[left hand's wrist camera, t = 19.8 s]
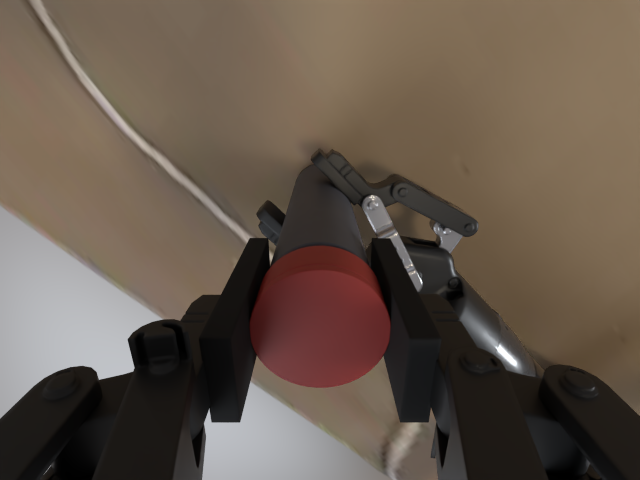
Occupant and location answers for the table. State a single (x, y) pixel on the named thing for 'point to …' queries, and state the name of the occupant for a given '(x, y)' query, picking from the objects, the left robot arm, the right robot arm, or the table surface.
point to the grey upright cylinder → (319, 218)
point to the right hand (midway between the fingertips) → (288, 182)
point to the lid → (320, 318)
